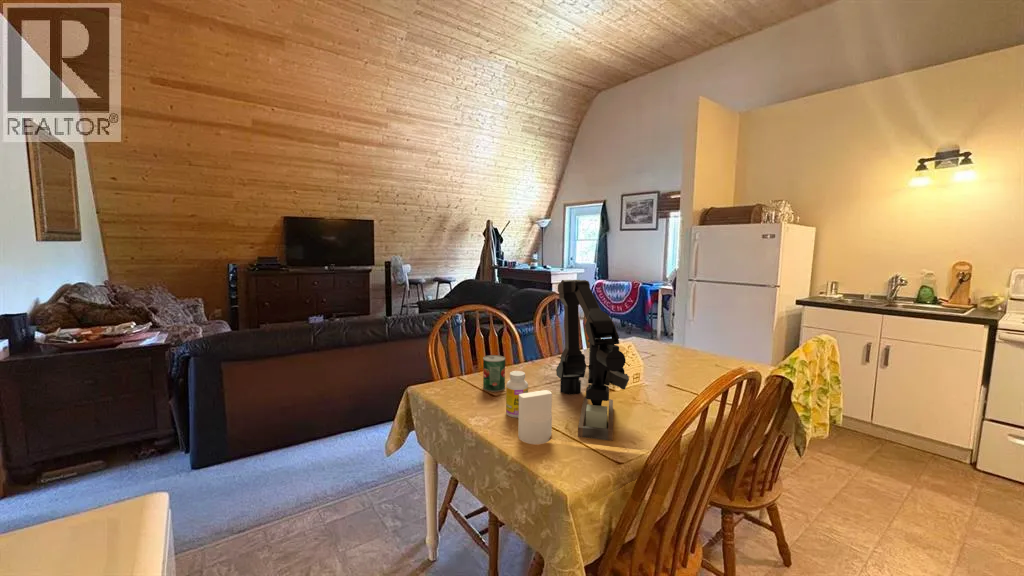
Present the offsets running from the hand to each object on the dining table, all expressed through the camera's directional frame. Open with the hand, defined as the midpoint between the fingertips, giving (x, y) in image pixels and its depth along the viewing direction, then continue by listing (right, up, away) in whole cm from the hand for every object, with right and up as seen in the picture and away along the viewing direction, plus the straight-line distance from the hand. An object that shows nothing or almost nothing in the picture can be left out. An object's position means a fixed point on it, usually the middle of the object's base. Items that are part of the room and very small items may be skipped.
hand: (597, 412), depth 123 cm
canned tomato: (-32, +1, +27) cm, 42 cm away
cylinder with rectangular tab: (-19, -4, -10) cm, 22 cm away
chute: (-1, -3, -2) cm, 3 cm away
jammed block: (-1, -2, -4) cm, 4 cm away
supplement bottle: (-24, -2, +5) cm, 24 cm away
